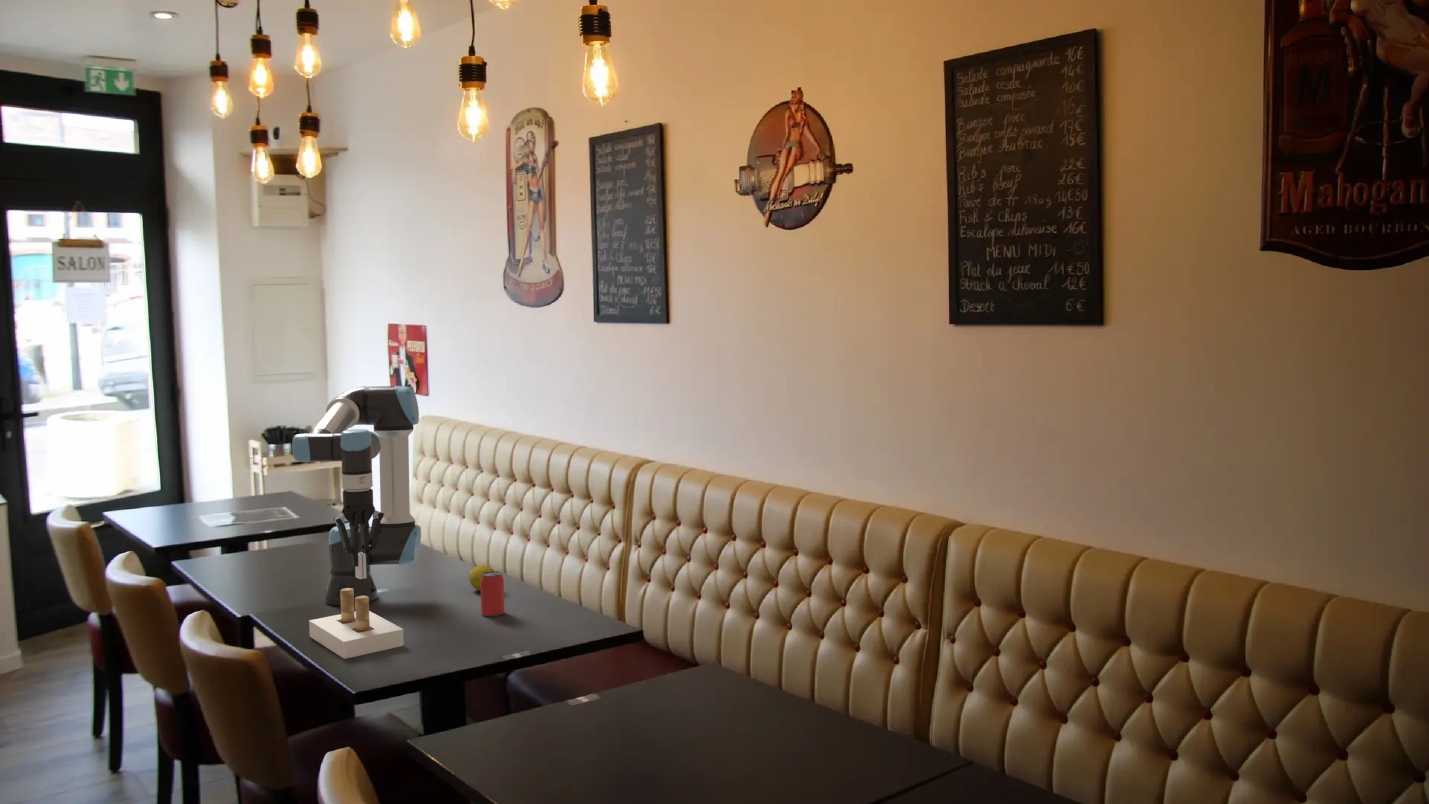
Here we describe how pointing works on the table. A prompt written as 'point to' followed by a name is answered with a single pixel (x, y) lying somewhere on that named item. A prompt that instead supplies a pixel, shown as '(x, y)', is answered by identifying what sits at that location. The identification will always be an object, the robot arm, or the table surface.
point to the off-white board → (355, 635)
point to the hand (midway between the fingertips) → (361, 577)
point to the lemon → (478, 576)
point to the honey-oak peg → (362, 614)
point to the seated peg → (347, 605)
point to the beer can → (492, 594)
